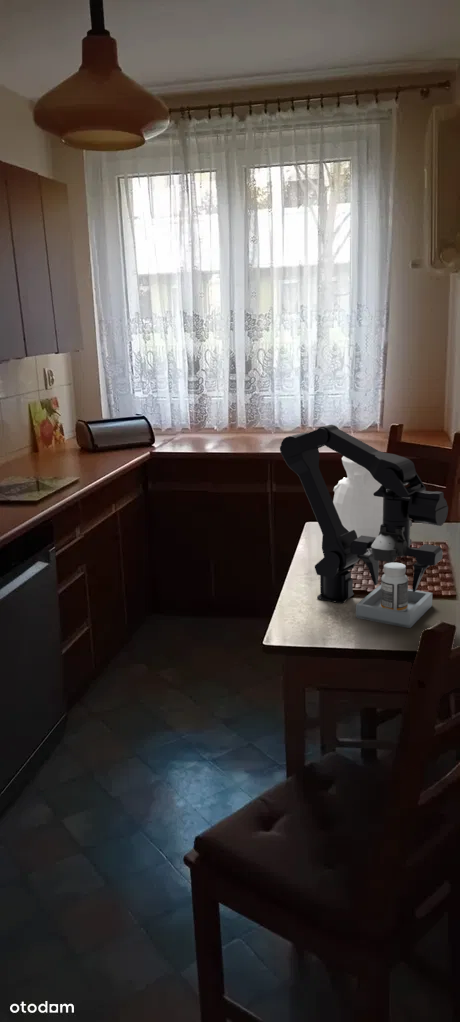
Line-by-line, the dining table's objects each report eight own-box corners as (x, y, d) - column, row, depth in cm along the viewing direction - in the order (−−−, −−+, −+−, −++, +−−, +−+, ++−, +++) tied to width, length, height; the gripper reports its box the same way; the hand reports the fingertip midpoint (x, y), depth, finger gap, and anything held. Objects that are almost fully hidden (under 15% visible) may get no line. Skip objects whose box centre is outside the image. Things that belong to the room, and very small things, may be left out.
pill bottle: (403, 603, 174) (404, 560, 171) (410, 613, 168) (411, 569, 165) (378, 604, 174) (378, 562, 171) (383, 614, 168) (384, 570, 165)
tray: (355, 617, 168) (356, 604, 168) (380, 596, 180) (380, 584, 179) (409, 628, 162) (410, 614, 161) (432, 605, 173) (432, 592, 173)
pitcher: (390, 559, 205) (391, 465, 198) (322, 552, 213) (322, 461, 206) (407, 539, 221) (409, 452, 214) (344, 533, 229) (344, 449, 222)
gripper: (339, 522, 164) (339, 592, 168) (426, 533, 154) (424, 608, 158) (361, 510, 173) (360, 576, 177) (444, 519, 163) (442, 590, 167)
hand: (394, 587), depth 169 cm, fingers open, 8 cm apart
